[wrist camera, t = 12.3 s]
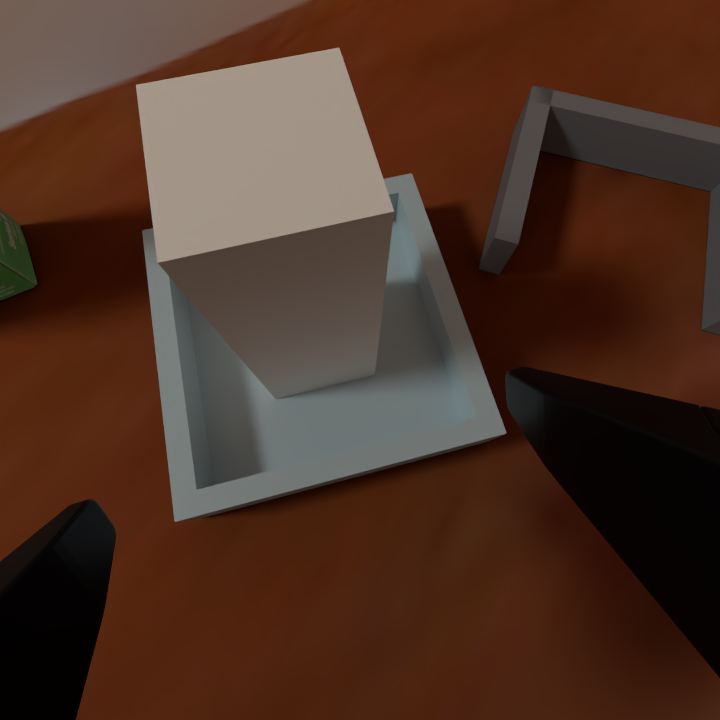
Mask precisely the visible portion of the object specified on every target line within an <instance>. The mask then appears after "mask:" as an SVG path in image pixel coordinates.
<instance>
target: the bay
mask: <svg viewBox="0 0 720 720" xmlns="http://www.w3.org/2000/svg"><path fill="white" fill-rule="evenodd" d="M540 151H544V152H548V153H552V154H556V155H560V156H565V157H569V158H573V159H577V160H581V161H585V162H590V163H594V164H598V165H602V166H606V167H610V168H614V169H619V170H623V171H627V172H631V173H635V174H639V175H644V176H648V177H652V178H656V179H660V180H664V181H669V182H673V183H677V184H681V185H685V186H689V187H693V188H698V189H702V190H706V191H710V192H711V196H710V211H709V226H708V241H707V256H706V271H705V286H704V301H703V316H702V330H704V331H708V332H711V333H715V334H719V335H720V128H719V127H715V126H710V125H706V124H702V123H697V122H693V121H688V120H684V119H679V118H675V117H671V116H666V115H662V114H657V113H653V112H648V111H644V110H640V109H635V108H631V107H626V106H622V105H618V104H613V103H609V102H604V101H600V100H595V99H591V98H587V97H582V96H578V95H573V94H569V93H564V92H560V91H556V90H551V89H547V88H542V87H538V86H532V88H531V91H530V93H529V95H528V98H527V100H526V103H525V105H524V107H523V110H522V112H521V115H520V117H519V119H518V122H517V124H516V126H515V129H514V132H513V136H512V140H511V144H510V148H509V152H508V156H507V160H506V163H505V167H504V171H503V175H502V179H501V183H500V187H499V190H498V194H497V198H496V202H495V206H494V210H493V214H492V218H491V221H490V225H489V229H488V233H487V237H486V241H485V245H484V249H483V252H482V256H481V260H480V264H479V268H478V269H479V270H483V271H486V272H490V273H494V274H497V275H499V274H500V273H501V271H502V270H503V268H504V266H505V265H506V263H507V262H508V260H509V258H510V257H511V255H512V254H513V252H514V250H515V249H516V247H517V246H518V244H519V240H520V235H521V231H522V226H523V222H524V218H525V213H526V209H527V205H528V200H529V196H530V192H531V187H532V183H533V178H534V174H535V170H536V165H537V161H538V157H539V152H540Z"/></svg>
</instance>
